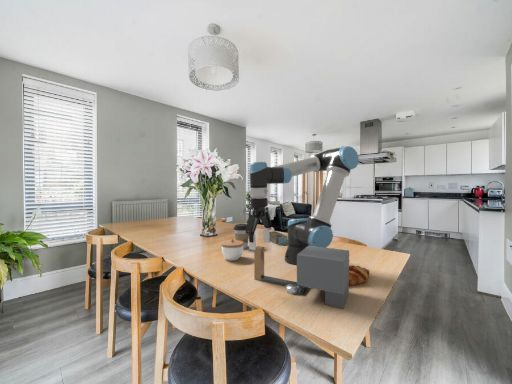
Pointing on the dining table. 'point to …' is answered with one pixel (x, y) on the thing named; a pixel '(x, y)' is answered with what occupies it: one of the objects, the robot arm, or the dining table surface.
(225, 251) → the lidded bowl
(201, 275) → the dining table surface
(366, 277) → the croissant
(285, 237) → the beverage carton
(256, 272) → the hook tool
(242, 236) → the coffee cup
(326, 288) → the grey l-shaped block
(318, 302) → the dining table surface
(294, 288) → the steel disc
